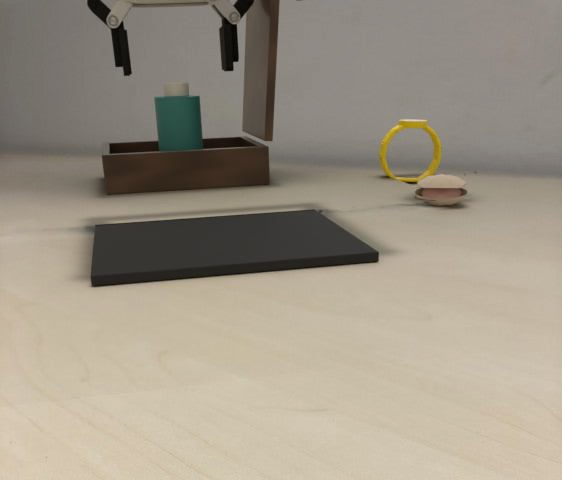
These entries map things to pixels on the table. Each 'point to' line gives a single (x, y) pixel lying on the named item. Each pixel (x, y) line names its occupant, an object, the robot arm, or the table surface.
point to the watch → (402, 124)
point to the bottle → (178, 118)
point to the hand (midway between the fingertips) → (178, 73)
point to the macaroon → (441, 189)
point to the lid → (260, 68)
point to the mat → (221, 246)
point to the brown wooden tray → (184, 166)
